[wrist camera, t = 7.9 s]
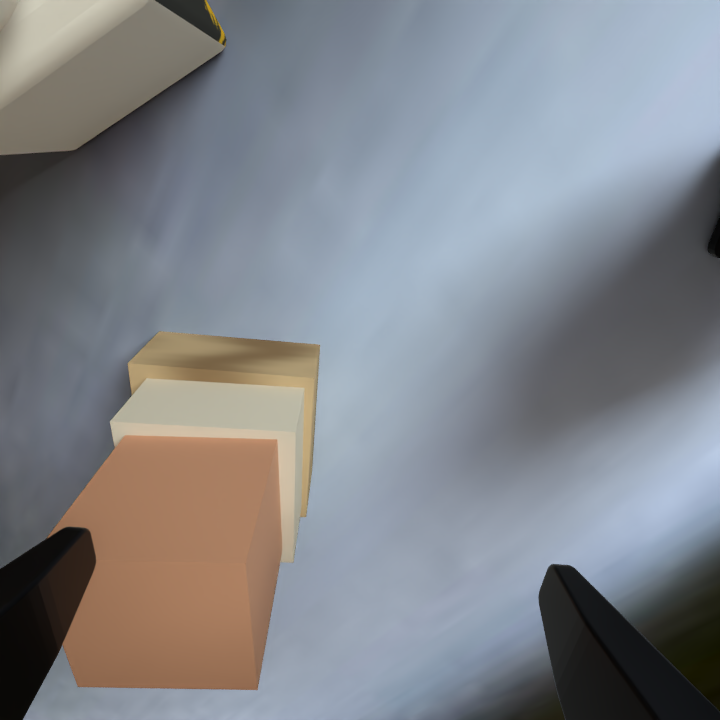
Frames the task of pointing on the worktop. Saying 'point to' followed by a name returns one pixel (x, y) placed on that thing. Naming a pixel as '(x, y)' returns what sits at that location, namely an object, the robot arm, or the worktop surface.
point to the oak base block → (236, 372)
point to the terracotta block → (178, 564)
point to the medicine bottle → (92, 64)
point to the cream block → (226, 427)
